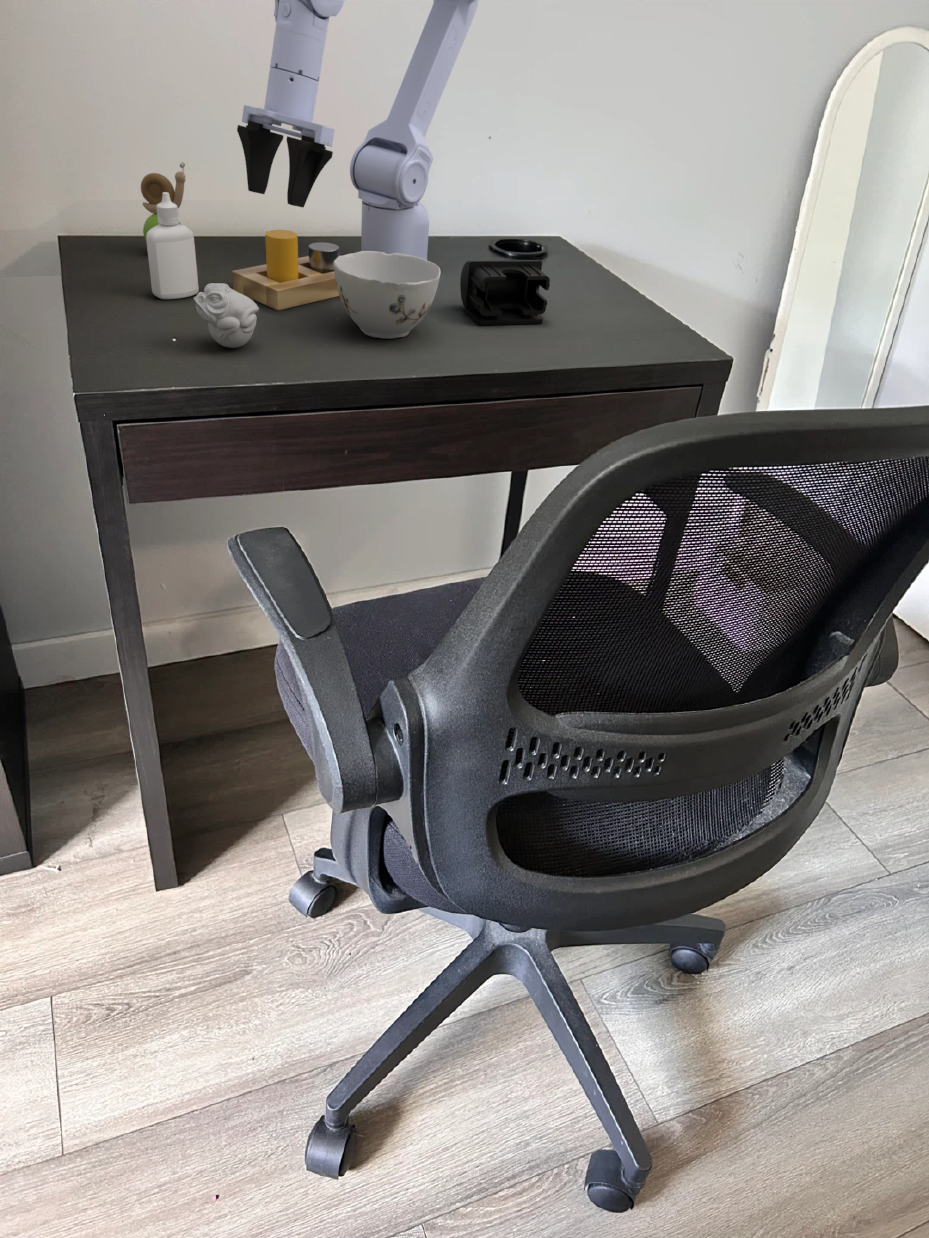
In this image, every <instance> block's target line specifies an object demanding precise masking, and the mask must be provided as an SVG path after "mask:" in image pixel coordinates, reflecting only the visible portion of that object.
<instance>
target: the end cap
mask: <svg viewBox="0 0 929 1238" xmlns="http://www.w3.org/2000/svg"><path fill="white" fill-rule="evenodd" d="M542 267H543V262H542V261H541V260H540V259H514V260H513V259H510V260H505V259H503V260H501V259H497V260H493V259H492V260H491V259H490V260H467V261H466V262H464V264H463V266H462V269H461V273H460V279H459V280H460V281H459V282H460V284H459V287H460V288H459V289H460V290H459V291H460V296H461V297H460V298H461V302H462V305H463V307H464V309H465V310H466V312H467V314H468V316H469V317H470V319H472V320H473V321H474V322H475V323H476V324H477V325H478V326H508V325H509V326H511V325H512V326H513V325H539V324H540V325H541V324H543V322H544V317H543V316H542V315H543V314H545V312H546V310H547V305H548V300H547V298H546V297H544V296H543V295H542V294H541V293H540V288H542V289H543V290H544V291H549V289H550V286H551V284H550V282H551V279H550V277H549V276H548V275H547V274H545V273H544V271H542Z"/></svg>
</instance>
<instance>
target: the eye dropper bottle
mask: <svg viewBox="0 0 929 1238" xmlns="http://www.w3.org/2000/svg"><path fill="white" fill-rule="evenodd" d="M157 216H158V223H159V225H157V226H155V227H153V228H151V229H150V230H149V231H148V232H147V234H146V240H145V242H146V241H147V242H146V251H147V258H148V265H149V266H148V269H149V276H150V285H151V292H152V294H153V296H155V297H156V298H159V299H160V300H179V299H186V298H189V297H190V298H191V297H192V296H193V297H194V295H197V294H198V293H199V292H200V291H199V290H200V289H199V288H200V287H199V278H198V277H199V276H198V265H197V255H196V245H195V244H196V243H195V236H194V233H193V231H192V229H191V228H189V227H187V226H185V225H183V224H181V225H180V224H178V223H179V222H180V218H179V208H178V206H177V205H176V204H174V203H172V202H171V199H170V196H169V193H168V192H163V194H162V202H161V203H159V204H157Z"/></svg>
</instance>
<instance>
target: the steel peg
mask: <svg viewBox="0 0 929 1238" xmlns="http://www.w3.org/2000/svg"><path fill="white" fill-rule="evenodd" d="M308 256H309V269H311V270H314V271H316V272H319V273H321V274H324V273H329V272H334V260H336V258H337V257H339V256H340V246H339V245H337V244H334V243H330V242H320V241H319V242H312V243H310V244H309V245H308Z"/></svg>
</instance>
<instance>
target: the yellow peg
mask: <svg viewBox="0 0 929 1238" xmlns="http://www.w3.org/2000/svg"><path fill="white" fill-rule="evenodd" d="M264 236H265V237H264V239H265V241H264V242H265V259H266V261H265V262H266V264H267V278H269V279H271V280H274V281H276V282H278V283H282V282H287V281H291V280H296V279H299V277H298V258H299V242H298V241H299V239H298V238H299V237H298V236H299V235H298V233H296V232H295V231H291V230H288V229H287V230H286V229H271V230H268V231H265V233H264Z"/></svg>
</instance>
